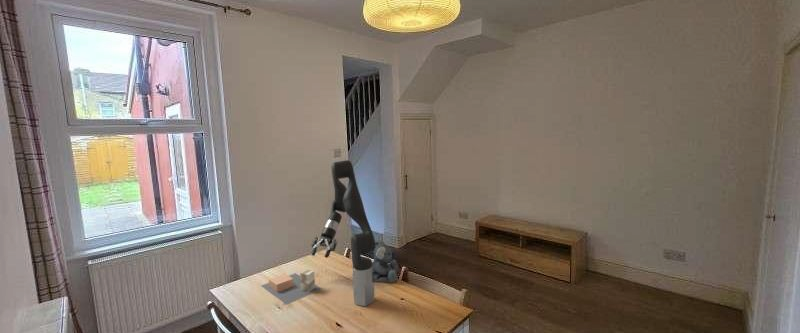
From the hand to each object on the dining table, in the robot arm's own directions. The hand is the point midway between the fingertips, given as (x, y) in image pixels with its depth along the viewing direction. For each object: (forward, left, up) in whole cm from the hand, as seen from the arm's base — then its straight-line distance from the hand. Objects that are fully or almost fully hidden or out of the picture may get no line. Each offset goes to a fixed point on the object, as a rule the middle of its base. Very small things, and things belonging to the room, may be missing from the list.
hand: (319, 256), depth 172 cm
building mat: (+4, +15, -14) cm, 21 cm away
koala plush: (-22, -26, -14) cm, 37 cm away
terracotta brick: (+9, +18, -13) cm, 24 cm away
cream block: (-4, +10, -13) cm, 17 cm away
